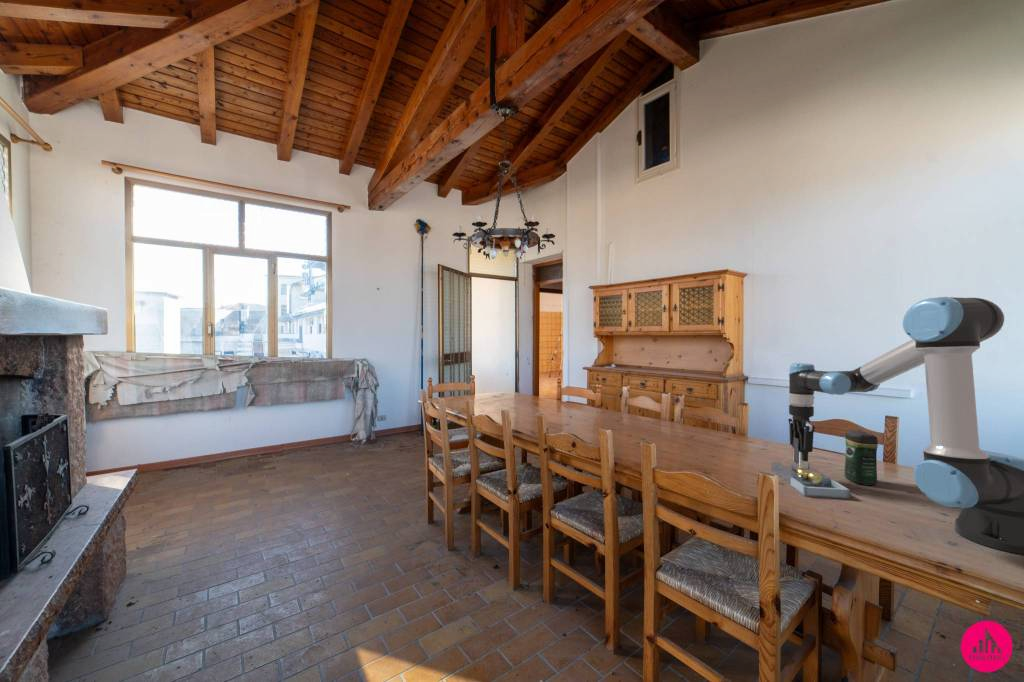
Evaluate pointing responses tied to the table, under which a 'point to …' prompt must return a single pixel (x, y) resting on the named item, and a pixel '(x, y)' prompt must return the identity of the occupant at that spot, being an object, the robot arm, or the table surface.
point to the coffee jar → (861, 457)
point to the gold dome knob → (815, 477)
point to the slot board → (797, 475)
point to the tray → (822, 490)
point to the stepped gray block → (796, 454)
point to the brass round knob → (803, 473)
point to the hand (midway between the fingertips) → (800, 467)
